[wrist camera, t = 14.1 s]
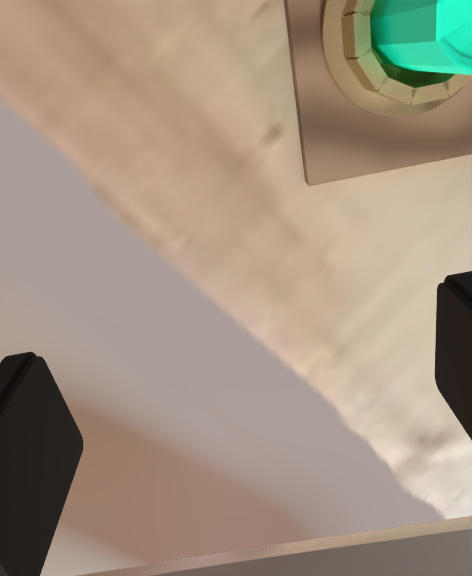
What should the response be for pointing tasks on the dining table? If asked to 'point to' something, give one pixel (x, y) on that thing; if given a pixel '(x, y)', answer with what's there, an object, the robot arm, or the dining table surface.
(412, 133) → the walnut board
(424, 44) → the candle
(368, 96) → the candle holder
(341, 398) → the dining table surface
